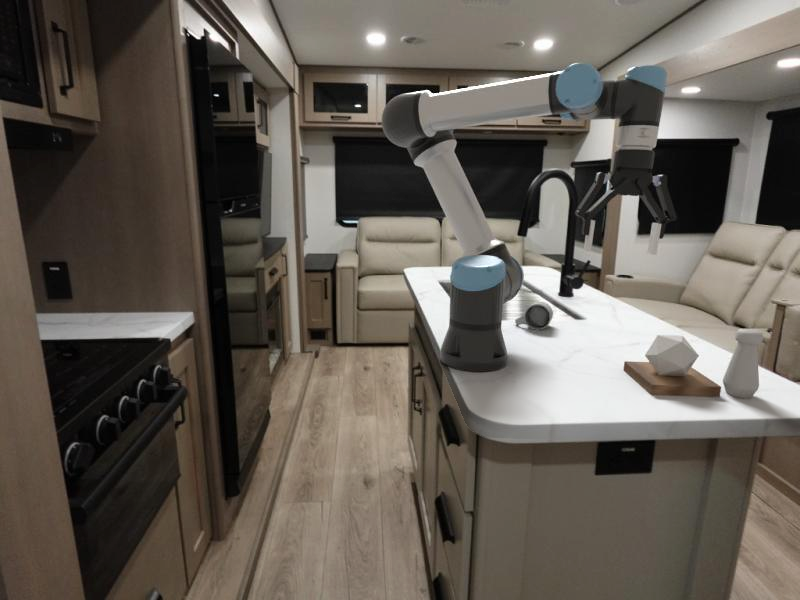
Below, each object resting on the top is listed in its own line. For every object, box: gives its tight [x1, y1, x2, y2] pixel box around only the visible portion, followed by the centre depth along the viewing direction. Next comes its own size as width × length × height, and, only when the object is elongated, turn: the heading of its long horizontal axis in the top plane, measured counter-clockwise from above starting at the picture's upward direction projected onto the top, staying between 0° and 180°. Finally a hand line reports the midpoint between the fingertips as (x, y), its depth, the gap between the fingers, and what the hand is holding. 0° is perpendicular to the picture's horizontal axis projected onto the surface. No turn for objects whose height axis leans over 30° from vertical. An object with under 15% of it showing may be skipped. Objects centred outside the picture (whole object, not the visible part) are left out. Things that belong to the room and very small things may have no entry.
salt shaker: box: [722, 328, 764, 399], centre depth 93 cm, size 6×6×13 cm
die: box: [644, 334, 700, 376], centre depth 98 cm, size 8×9×10 cm
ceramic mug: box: [514, 301, 554, 331], centre depth 139 cm, size 10×8×7 cm
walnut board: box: [623, 361, 722, 398], centre depth 99 cm, size 13×13×2 cm
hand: (619, 252), depth 104 cm, fingers open, 13 cm apart
